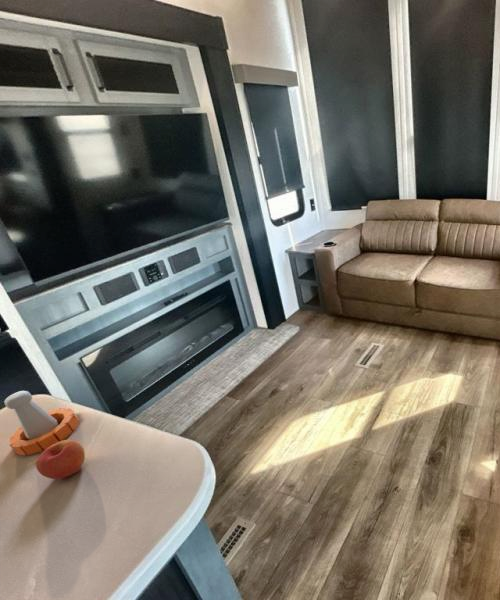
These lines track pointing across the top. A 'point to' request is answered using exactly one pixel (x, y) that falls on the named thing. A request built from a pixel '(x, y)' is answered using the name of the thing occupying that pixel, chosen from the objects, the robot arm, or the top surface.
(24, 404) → the salt shaker
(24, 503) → the top surface
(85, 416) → the top surface
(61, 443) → the apple
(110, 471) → the top surface
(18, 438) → the orange ring
